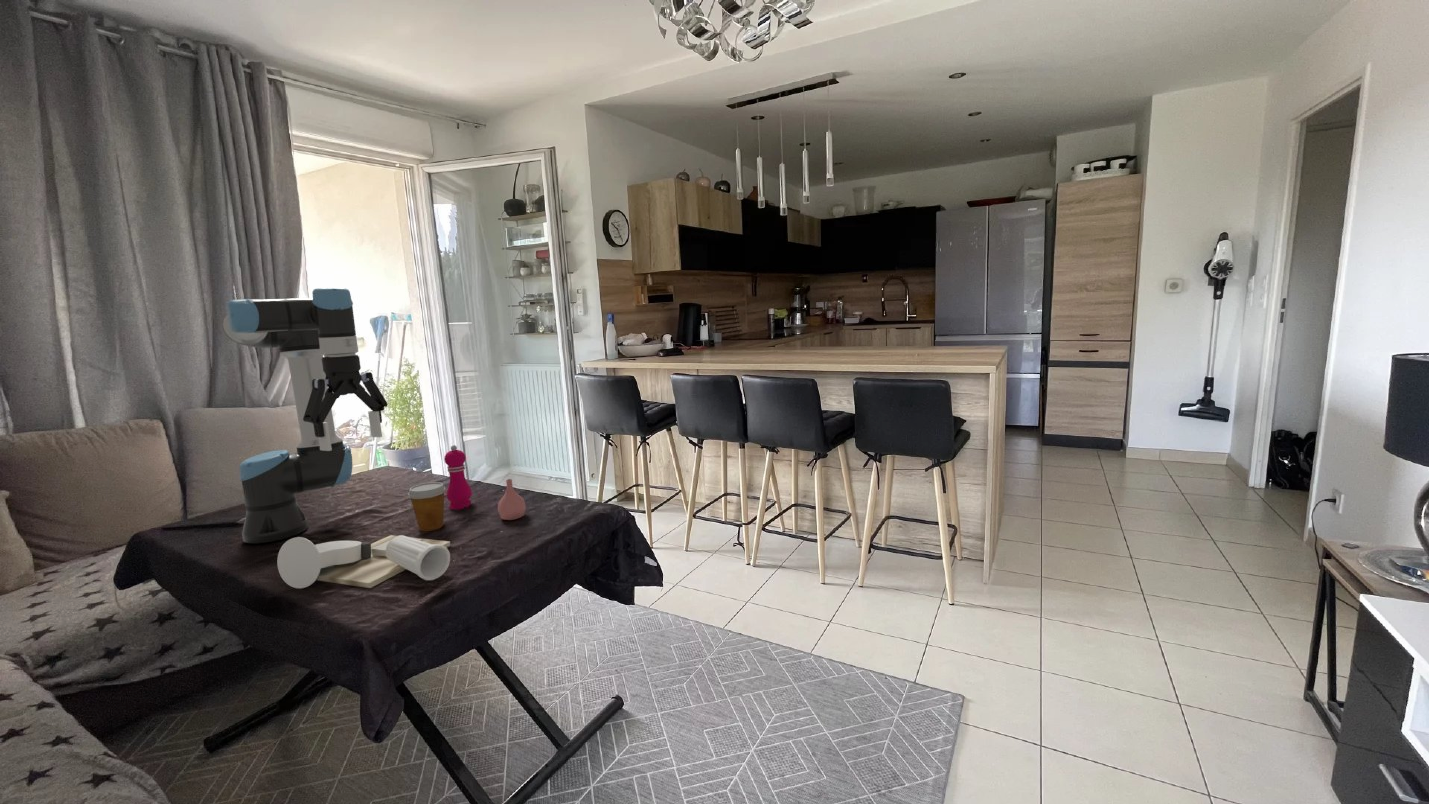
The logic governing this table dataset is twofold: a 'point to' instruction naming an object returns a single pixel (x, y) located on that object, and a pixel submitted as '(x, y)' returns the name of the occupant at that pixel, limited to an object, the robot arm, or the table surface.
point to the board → (368, 568)
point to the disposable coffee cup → (428, 505)
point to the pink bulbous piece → (511, 504)
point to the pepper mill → (457, 479)
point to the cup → (418, 556)
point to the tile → (383, 548)
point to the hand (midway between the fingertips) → (352, 443)
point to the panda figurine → (316, 558)
